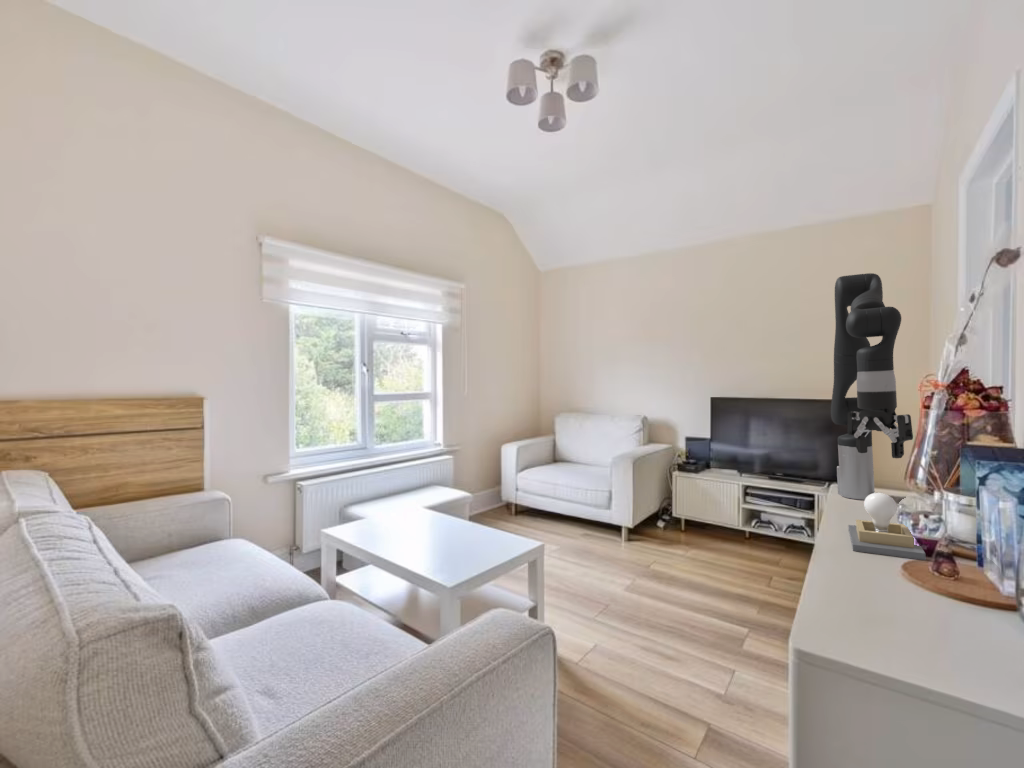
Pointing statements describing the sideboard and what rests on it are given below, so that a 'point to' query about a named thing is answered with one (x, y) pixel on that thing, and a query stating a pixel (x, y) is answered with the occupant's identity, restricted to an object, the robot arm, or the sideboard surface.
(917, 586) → the sideboard surface
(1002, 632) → the sideboard surface
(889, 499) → the lightbulb
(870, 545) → the bulb socket
